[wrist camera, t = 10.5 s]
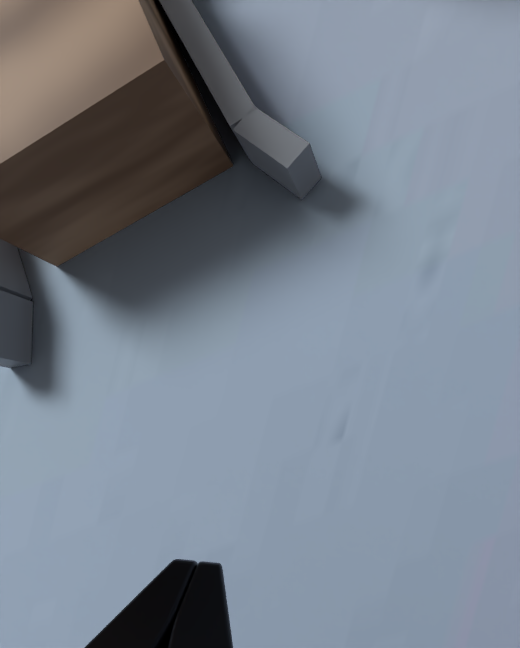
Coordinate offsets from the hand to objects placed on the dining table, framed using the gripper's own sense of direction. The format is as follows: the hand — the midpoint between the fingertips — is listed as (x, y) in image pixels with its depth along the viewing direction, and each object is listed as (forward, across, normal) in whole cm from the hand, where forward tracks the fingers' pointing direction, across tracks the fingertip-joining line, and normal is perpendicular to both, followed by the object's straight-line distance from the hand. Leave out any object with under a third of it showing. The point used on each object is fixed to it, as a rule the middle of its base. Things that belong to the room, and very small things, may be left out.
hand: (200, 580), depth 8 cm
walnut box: (+24, +11, -9) cm, 28 cm away
